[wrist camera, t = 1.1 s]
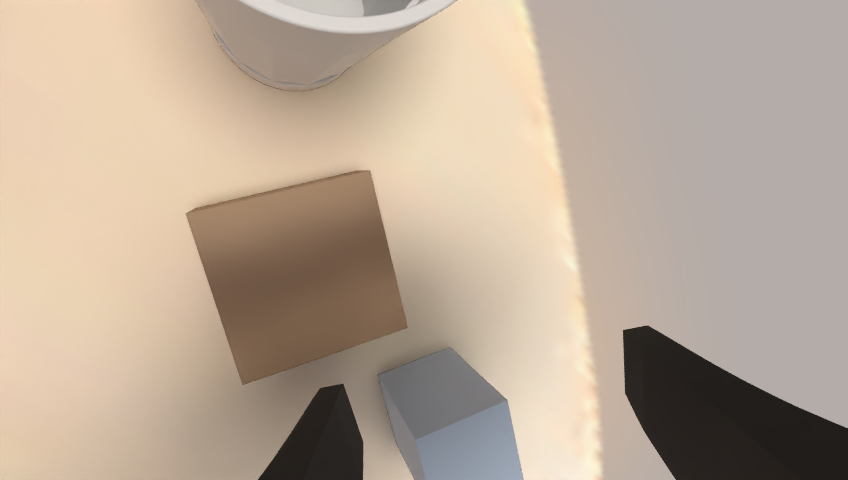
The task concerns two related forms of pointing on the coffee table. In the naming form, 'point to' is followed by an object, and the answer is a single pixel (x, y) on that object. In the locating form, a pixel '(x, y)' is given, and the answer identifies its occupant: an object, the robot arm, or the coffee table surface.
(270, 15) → the cup
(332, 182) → the walnut block
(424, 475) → the blue block
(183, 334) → the coffee table surface
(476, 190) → the coffee table surface
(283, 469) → the robot arm
